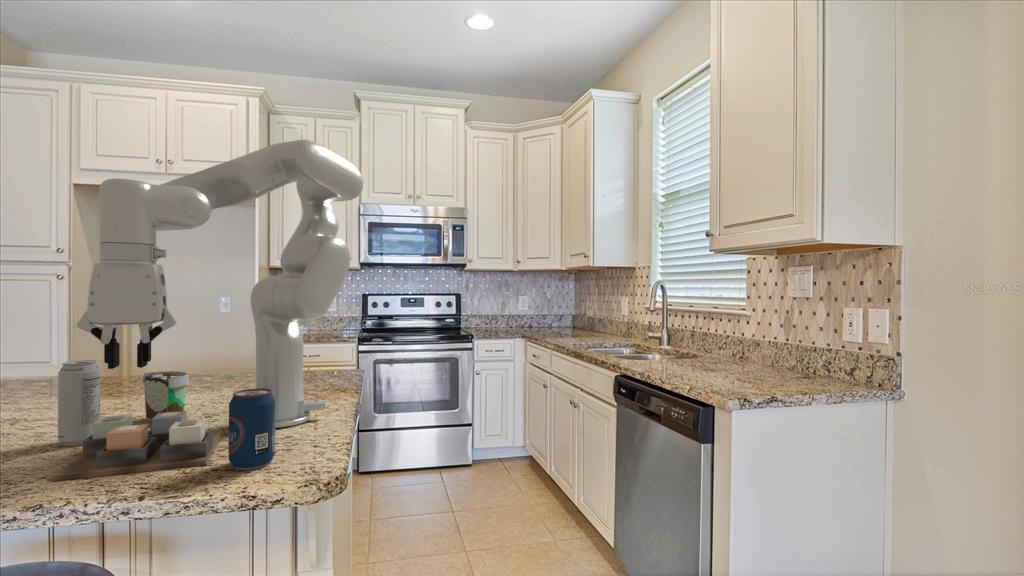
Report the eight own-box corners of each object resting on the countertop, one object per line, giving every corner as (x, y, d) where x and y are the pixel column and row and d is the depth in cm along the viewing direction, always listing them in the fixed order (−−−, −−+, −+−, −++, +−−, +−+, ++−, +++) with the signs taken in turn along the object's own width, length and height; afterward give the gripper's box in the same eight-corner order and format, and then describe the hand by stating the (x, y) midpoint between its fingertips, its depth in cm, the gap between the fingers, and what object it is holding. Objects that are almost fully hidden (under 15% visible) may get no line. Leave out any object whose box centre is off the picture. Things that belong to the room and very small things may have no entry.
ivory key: (205, 435, 91) (205, 418, 91) (200, 442, 87) (200, 424, 87) (175, 437, 89) (175, 420, 89) (169, 445, 85) (169, 427, 85)
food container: (200, 420, 112) (201, 374, 112) (169, 426, 107) (169, 378, 106) (173, 412, 118) (173, 369, 118) (142, 418, 113) (142, 372, 113)
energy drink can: (75, 437, 99) (75, 359, 99) (108, 437, 99) (108, 359, 99) (49, 447, 93) (49, 364, 93) (84, 446, 93) (84, 364, 93)
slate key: (186, 425, 97) (186, 410, 97) (181, 432, 92) (181, 415, 92) (158, 428, 95) (158, 412, 95) (151, 434, 91) (151, 418, 91)
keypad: (222, 434, 101) (222, 418, 101) (206, 464, 85) (206, 445, 85) (97, 445, 94) (97, 428, 94) (53, 481, 77) (53, 460, 77)
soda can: (221, 464, 85) (221, 392, 85) (263, 453, 90) (264, 385, 90) (239, 474, 80) (239, 398, 80) (282, 463, 86) (283, 391, 86)
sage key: (132, 430, 93) (132, 413, 93) (124, 437, 89) (124, 420, 89) (102, 432, 92) (102, 416, 92) (92, 440, 88) (92, 422, 88)
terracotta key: (148, 440, 88) (148, 422, 88) (140, 448, 83) (140, 429, 83) (116, 443, 86) (116, 425, 86) (106, 451, 82) (106, 432, 82)
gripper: (191, 258, 91) (190, 361, 91) (75, 255, 85) (75, 366, 85) (181, 256, 84) (181, 367, 84) (55, 253, 78) (55, 373, 78)
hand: (128, 365), depth 85 cm, fingers open, 3 cm apart
